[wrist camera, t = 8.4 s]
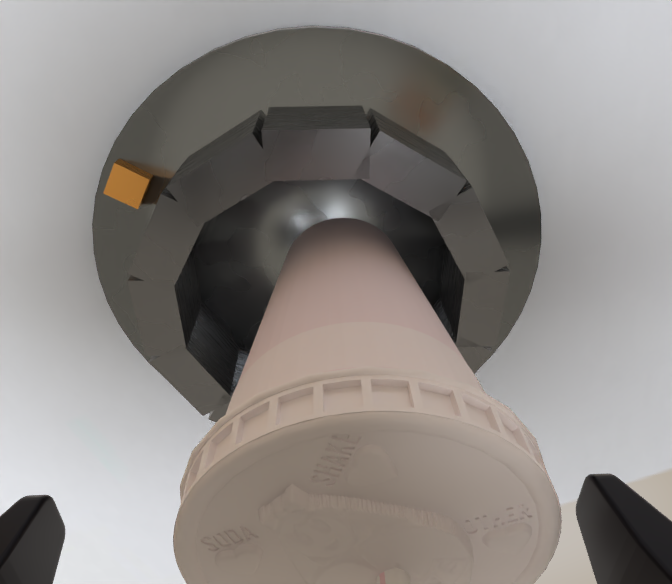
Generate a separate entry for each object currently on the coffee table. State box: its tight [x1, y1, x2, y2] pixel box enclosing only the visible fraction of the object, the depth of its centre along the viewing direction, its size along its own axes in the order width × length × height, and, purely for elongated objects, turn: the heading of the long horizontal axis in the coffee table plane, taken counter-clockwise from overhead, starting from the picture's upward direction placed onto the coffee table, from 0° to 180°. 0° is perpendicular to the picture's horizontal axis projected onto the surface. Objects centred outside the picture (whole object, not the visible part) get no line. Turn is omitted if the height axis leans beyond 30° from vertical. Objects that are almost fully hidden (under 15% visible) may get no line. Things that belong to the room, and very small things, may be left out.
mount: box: [93, 26, 541, 422], centre depth 16 cm, size 14×14×3 cm
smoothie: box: [173, 218, 562, 584], centre depth 11 cm, size 6×6×14 cm
